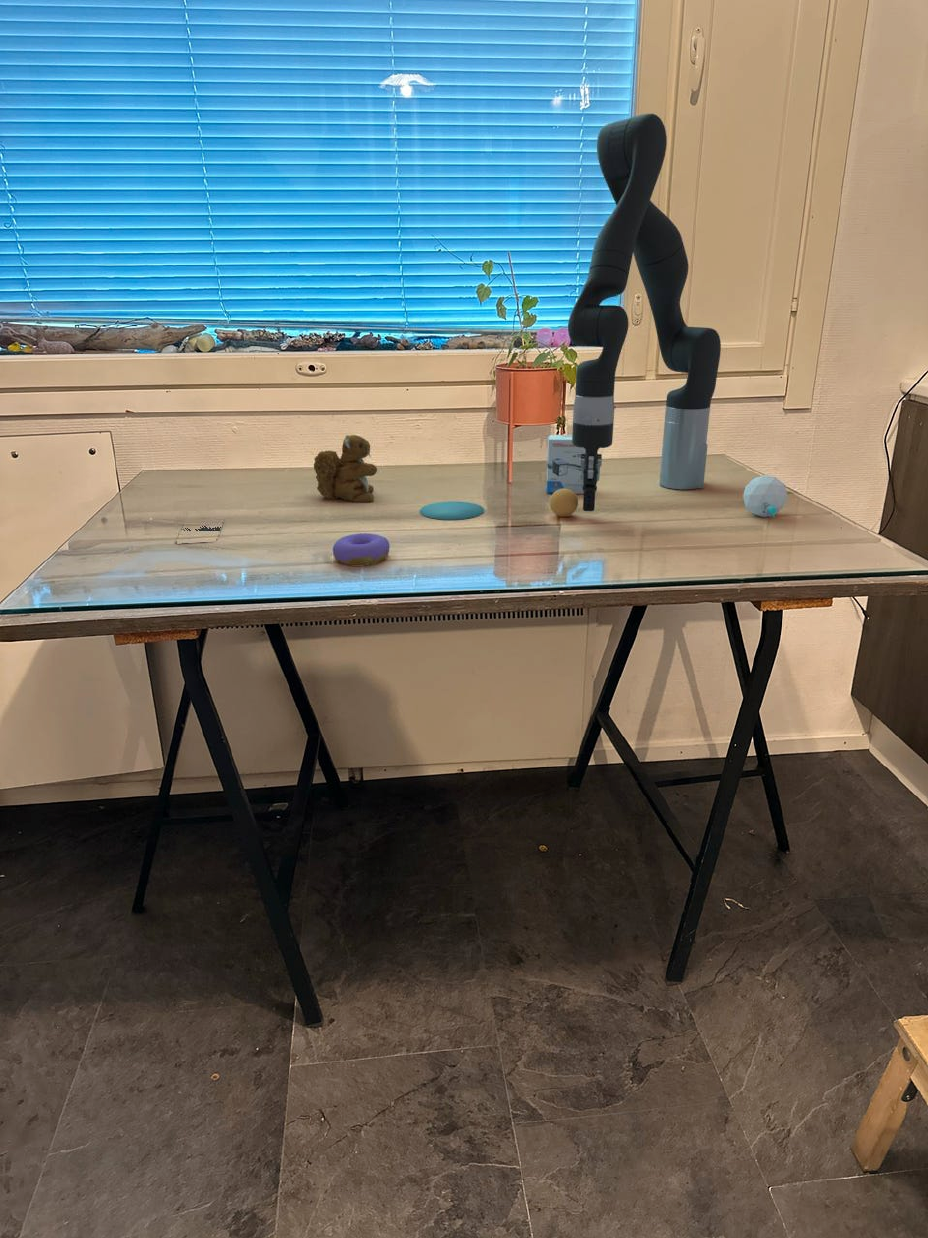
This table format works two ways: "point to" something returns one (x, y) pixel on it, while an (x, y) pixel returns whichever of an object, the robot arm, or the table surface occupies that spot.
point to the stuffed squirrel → (346, 471)
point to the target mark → (452, 510)
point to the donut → (361, 549)
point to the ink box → (564, 464)
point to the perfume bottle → (765, 496)
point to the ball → (563, 502)
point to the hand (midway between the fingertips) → (588, 509)
